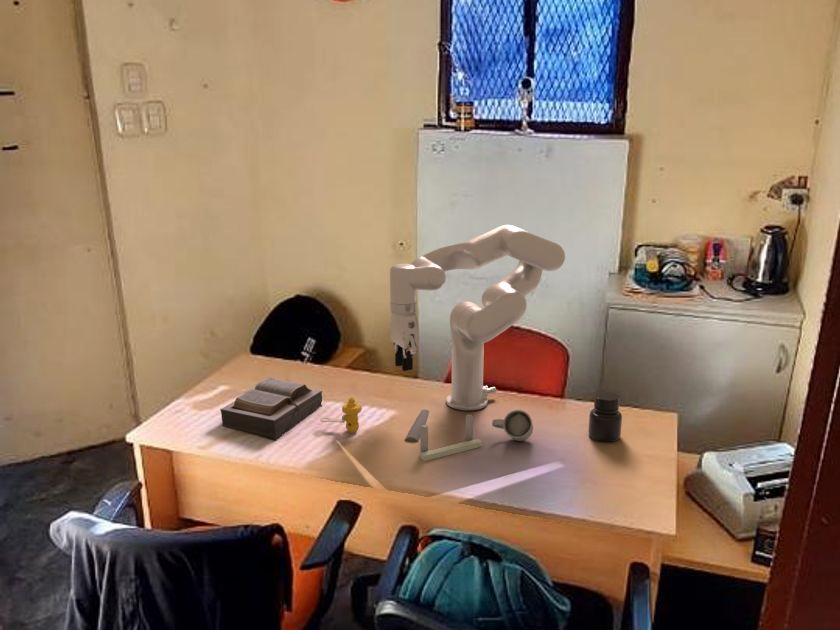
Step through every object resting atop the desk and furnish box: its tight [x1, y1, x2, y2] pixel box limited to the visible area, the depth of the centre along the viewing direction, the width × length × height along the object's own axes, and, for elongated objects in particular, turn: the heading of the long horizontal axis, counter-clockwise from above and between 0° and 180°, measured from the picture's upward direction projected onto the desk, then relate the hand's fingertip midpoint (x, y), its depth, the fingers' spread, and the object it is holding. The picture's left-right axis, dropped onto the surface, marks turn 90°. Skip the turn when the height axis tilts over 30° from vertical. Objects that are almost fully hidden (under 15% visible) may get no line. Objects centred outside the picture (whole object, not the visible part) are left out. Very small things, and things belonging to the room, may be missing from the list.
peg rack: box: [419, 414, 483, 462], centre depth 210 cm, size 18×4×8 cm, turn 119°
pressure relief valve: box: [319, 397, 363, 434], centre depth 222 cm, size 6×12×10 cm, turn 78°
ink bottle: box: [587, 390, 623, 442], centre depth 219 cm, size 10×9×12 cm
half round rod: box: [404, 409, 430, 442], centre depth 226 cm, size 4×20×2 cm, turn 168°
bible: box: [220, 376, 323, 442], centre depth 230 cm, size 23×27×10 cm
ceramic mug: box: [491, 409, 534, 442], centre depth 215 cm, size 11×8×8 cm
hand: (403, 367), depth 229 cm, fingers open, 3 cm apart
